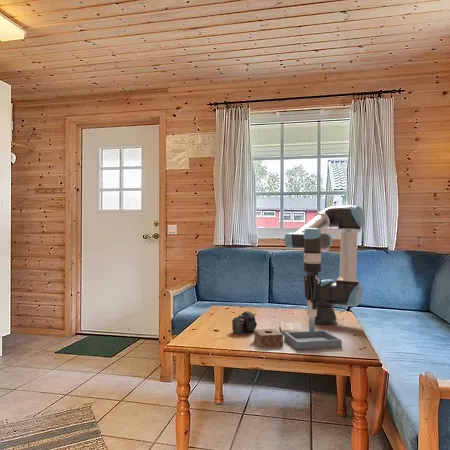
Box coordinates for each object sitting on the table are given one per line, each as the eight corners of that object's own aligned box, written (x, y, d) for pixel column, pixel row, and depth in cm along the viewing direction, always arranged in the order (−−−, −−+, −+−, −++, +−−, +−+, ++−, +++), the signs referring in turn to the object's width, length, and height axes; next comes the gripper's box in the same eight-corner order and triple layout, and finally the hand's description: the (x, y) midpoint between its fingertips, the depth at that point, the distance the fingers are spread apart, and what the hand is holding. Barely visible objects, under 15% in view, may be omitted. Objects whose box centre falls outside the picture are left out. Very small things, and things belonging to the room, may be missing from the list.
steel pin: (313, 330, 166) (313, 299, 166) (315, 332, 163) (315, 300, 164) (308, 330, 165) (308, 299, 166) (310, 332, 163) (310, 300, 163)
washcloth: (301, 327, 196) (301, 321, 196) (305, 336, 178) (305, 329, 178) (279, 326, 197) (279, 320, 198) (280, 335, 180) (280, 328, 180)
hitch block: (275, 339, 170) (275, 328, 170) (282, 346, 161) (283, 334, 161) (254, 340, 168) (254, 329, 168) (260, 347, 159) (260, 335, 159)
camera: (247, 336, 175) (247, 315, 176) (229, 333, 181) (230, 312, 181) (260, 330, 186) (261, 310, 187) (244, 327, 192) (244, 308, 192)
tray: (324, 337, 174) (324, 330, 174) (341, 348, 159) (341, 339, 159) (284, 339, 170) (284, 332, 170) (297, 350, 154) (298, 342, 155)
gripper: (297, 261, 172) (297, 312, 171) (311, 264, 157) (311, 319, 156) (312, 261, 173) (312, 311, 173) (328, 264, 158) (327, 319, 158)
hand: (311, 315), depth 165 cm, fingers closed on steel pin, 2 cm apart
